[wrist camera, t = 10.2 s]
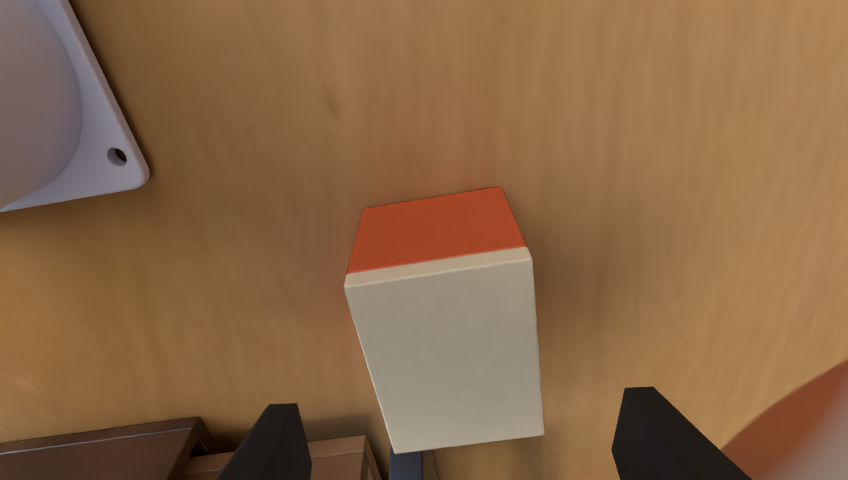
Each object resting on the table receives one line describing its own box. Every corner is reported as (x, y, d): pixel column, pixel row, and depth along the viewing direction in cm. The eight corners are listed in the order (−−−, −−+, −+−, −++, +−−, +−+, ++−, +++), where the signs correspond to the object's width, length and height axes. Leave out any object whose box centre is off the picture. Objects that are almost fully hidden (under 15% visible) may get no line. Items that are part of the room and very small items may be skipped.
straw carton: (362, 207, 14) (342, 287, 11) (501, 185, 14) (532, 257, 10) (399, 351, 17) (393, 454, 13) (516, 335, 17) (545, 436, 13)
